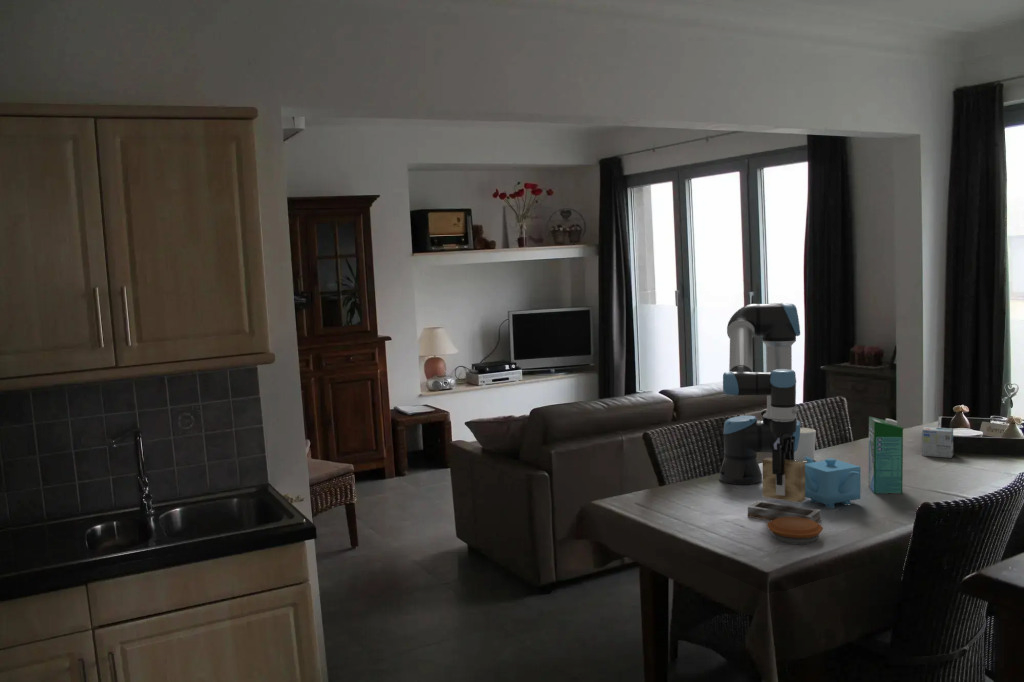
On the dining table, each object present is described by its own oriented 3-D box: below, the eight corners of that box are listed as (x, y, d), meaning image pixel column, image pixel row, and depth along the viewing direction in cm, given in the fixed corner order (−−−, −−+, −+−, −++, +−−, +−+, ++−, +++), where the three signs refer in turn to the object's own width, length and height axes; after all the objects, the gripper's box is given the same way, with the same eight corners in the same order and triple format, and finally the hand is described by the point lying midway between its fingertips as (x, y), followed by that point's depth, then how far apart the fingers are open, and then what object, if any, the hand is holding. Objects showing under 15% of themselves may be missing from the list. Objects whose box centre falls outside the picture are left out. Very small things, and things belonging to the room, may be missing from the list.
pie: (806, 527, 255) (806, 511, 254) (833, 544, 240) (833, 527, 239) (758, 532, 252) (758, 516, 252) (782, 549, 237) (782, 532, 237)
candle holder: (784, 458, 339) (784, 429, 338) (805, 455, 342) (805, 426, 341) (800, 463, 330) (800, 433, 329) (821, 461, 333) (821, 431, 332)
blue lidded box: (860, 497, 283) (861, 454, 282) (859, 513, 266) (860, 467, 265) (801, 493, 291) (801, 451, 290) (797, 508, 274) (796, 464, 272)
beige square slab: (762, 497, 266) (762, 459, 265) (768, 493, 269) (767, 456, 268) (800, 502, 258) (800, 464, 257) (805, 499, 262) (805, 461, 260)
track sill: (747, 516, 267) (747, 507, 267) (759, 509, 274) (759, 500, 274) (810, 527, 255) (810, 517, 254) (820, 519, 262) (820, 510, 261)
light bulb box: (953, 454, 336) (953, 428, 335) (951, 458, 330) (952, 431, 329) (923, 452, 341) (924, 426, 340) (921, 455, 336) (922, 429, 335)
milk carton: (902, 493, 285) (903, 421, 283) (874, 493, 287) (874, 421, 285) (895, 486, 294) (896, 416, 292) (868, 486, 296) (868, 416, 294)
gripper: (784, 425, 252) (784, 501, 255) (805, 415, 266) (805, 488, 268) (760, 423, 257) (760, 497, 259) (782, 413, 271) (782, 485, 273)
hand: (783, 492), depth 264 cm, fingers closed on beige square slab, 4 cm apart
